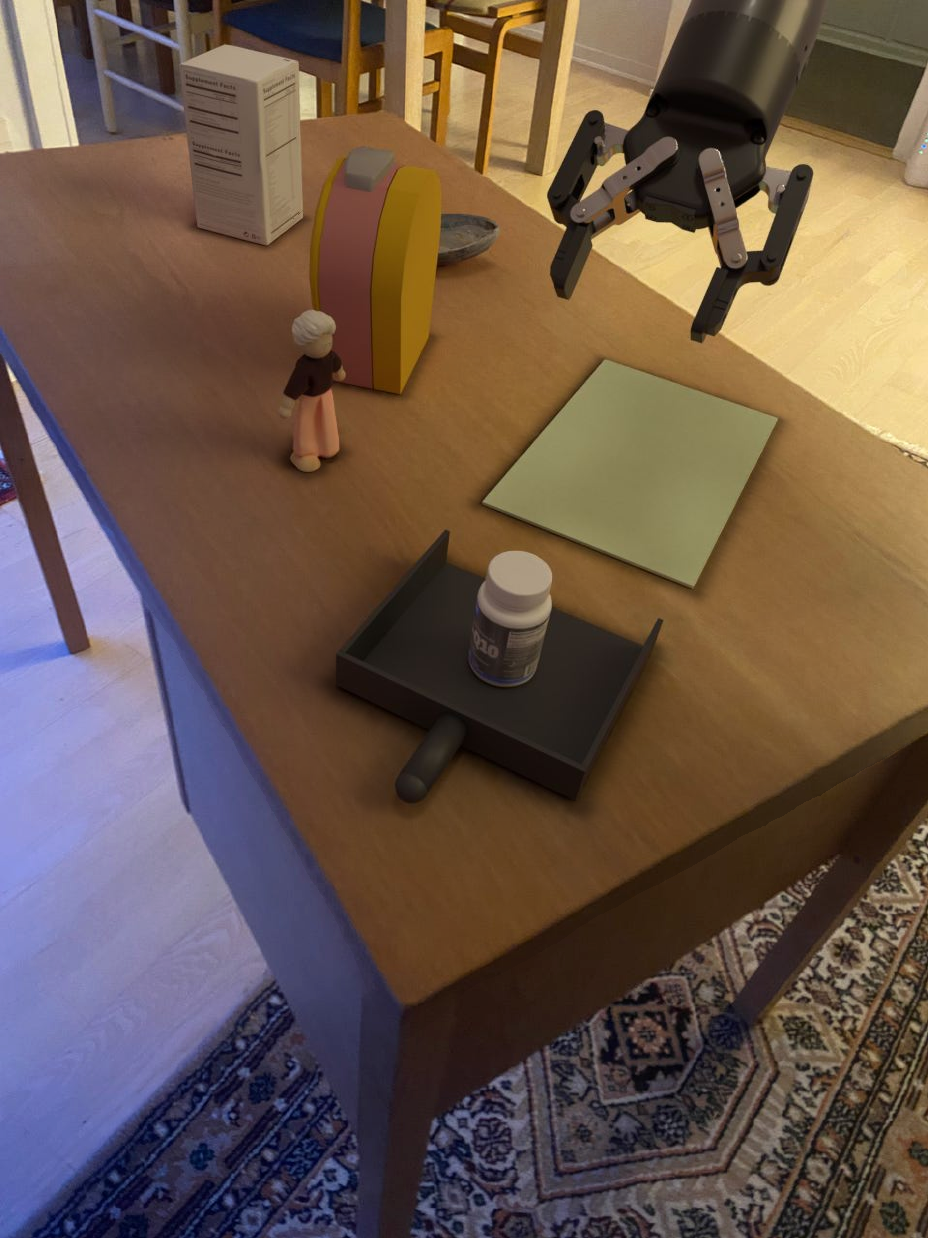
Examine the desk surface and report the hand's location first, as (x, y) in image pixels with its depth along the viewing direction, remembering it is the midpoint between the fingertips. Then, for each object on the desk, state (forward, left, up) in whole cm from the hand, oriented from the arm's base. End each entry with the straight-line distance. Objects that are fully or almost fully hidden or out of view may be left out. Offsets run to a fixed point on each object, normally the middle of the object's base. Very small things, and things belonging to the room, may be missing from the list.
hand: (627, 314), depth 53 cm
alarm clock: (-5, -33, -21) cm, 40 cm away
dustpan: (+13, +6, -21) cm, 25 cm away
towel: (-17, -8, -21) cm, 28 cm away
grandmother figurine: (+8, -22, -21) cm, 32 cm away
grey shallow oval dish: (-22, -49, -21) cm, 58 cm away
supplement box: (-9, -65, -21) cm, 69 cm away
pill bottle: (+10, +4, -21) cm, 23 cm away
